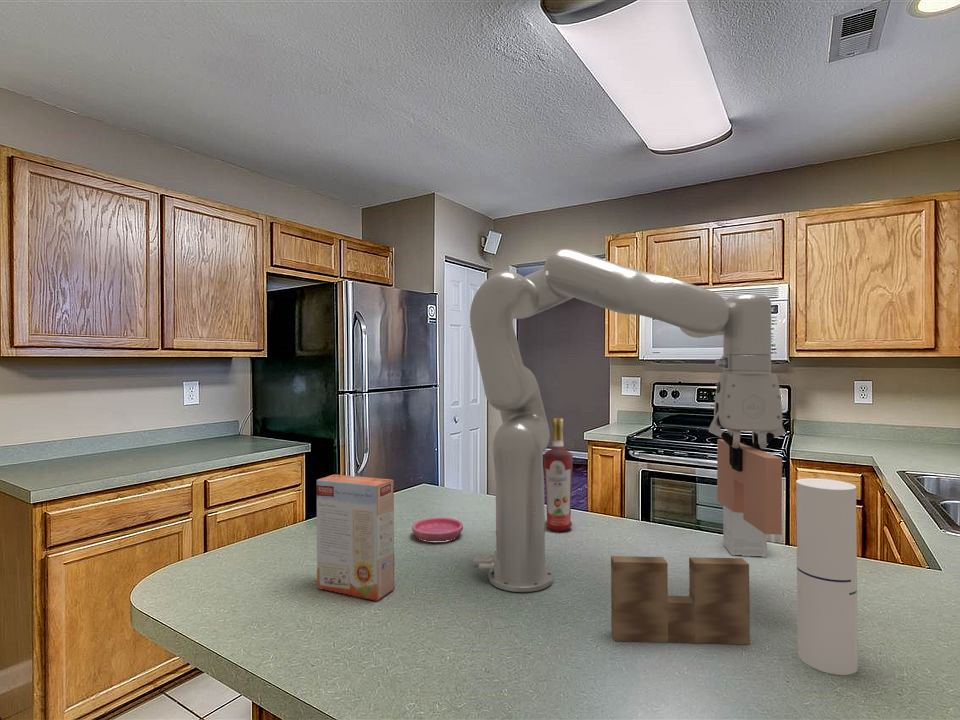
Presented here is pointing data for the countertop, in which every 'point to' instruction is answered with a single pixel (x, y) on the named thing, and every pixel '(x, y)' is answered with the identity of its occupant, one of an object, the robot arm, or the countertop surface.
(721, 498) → the terracotta slotted plate
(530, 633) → the countertop surface
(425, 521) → the saucer
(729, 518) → the supplement box
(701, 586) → the walnut slotted plate
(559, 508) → the liquor
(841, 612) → the cylindrical container
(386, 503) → the cracker box
